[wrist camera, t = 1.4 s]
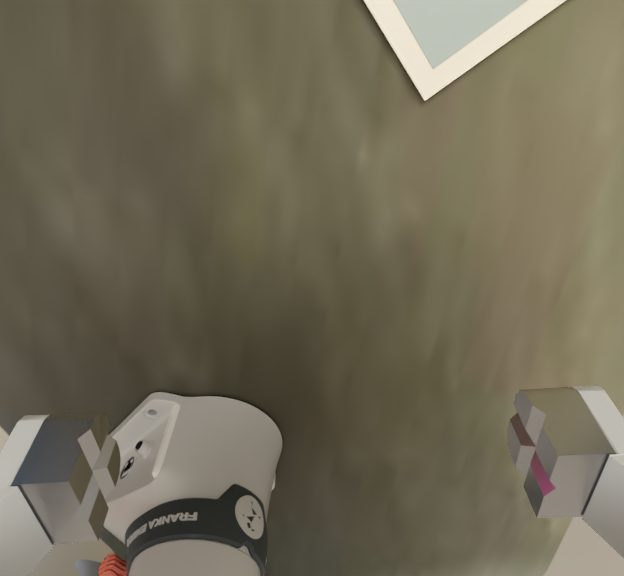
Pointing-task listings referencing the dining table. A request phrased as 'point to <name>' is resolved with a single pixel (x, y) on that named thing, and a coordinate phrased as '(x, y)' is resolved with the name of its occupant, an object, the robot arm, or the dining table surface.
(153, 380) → the dining table surface
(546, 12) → the plate
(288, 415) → the dining table surface
